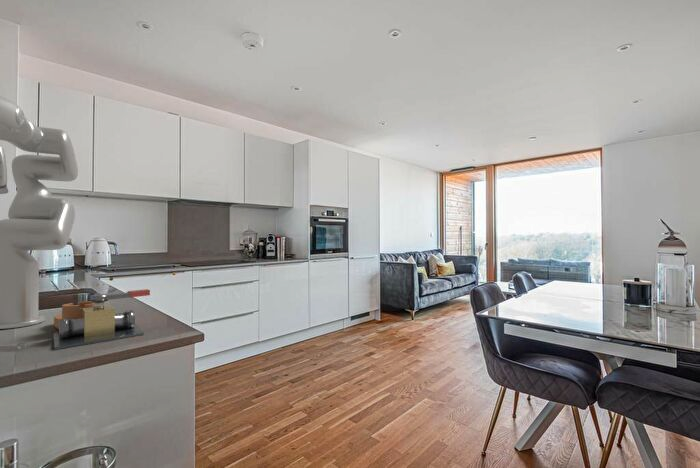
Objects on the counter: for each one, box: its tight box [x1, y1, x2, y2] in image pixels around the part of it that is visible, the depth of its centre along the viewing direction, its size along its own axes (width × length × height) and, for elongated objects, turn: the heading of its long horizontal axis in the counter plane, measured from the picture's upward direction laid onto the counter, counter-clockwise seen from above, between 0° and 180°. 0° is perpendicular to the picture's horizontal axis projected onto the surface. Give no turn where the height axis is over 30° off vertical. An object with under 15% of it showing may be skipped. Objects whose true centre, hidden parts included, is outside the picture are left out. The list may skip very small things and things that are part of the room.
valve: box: [53, 301, 145, 351], centre depth 89 cm, size 15×18×9 cm
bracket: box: [53, 300, 93, 330], centre depth 97 cm, size 18×8×7 cm, turn 51°
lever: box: [89, 288, 151, 302], centre depth 94 cm, size 14×4×2 cm, turn 138°
